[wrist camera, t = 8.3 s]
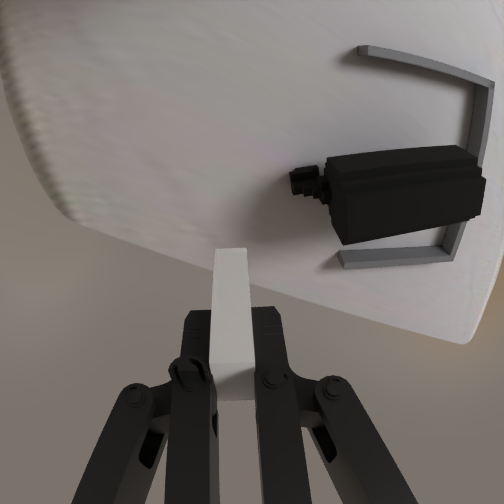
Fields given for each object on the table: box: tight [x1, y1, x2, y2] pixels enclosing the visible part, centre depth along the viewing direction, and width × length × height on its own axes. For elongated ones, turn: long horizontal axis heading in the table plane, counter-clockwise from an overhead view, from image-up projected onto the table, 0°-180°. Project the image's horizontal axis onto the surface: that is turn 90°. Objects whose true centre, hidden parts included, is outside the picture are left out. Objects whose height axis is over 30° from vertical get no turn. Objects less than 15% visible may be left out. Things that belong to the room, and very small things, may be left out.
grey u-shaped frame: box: [338, 45, 495, 270], centre depth 30 cm, size 25×17×2 cm
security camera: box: [289, 145, 486, 246], centre depth 27 cm, size 7×18×10 cm, turn 101°
